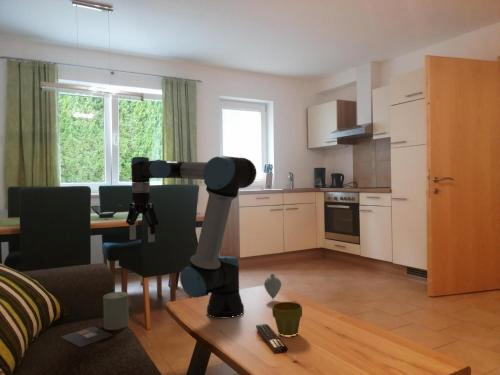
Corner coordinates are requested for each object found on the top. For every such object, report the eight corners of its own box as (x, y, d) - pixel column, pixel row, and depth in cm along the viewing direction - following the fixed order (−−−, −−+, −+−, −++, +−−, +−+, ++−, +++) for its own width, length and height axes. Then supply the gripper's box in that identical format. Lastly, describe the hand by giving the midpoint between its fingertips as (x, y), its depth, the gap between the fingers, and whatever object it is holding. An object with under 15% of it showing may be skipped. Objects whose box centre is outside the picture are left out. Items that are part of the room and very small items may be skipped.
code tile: (113, 335, 132) (113, 334, 132) (80, 347, 123) (80, 346, 123) (93, 326, 141) (93, 326, 141) (60, 337, 132) (60, 336, 132)
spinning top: (276, 304, 163) (276, 276, 163) (261, 301, 167) (260, 274, 167) (284, 299, 170) (283, 272, 170) (269, 297, 174) (269, 271, 174)
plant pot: (267, 331, 133) (266, 304, 133) (291, 326, 137) (291, 299, 137) (283, 342, 123) (282, 312, 123) (308, 336, 128) (308, 307, 128)
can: (121, 330, 136) (120, 297, 136) (98, 329, 138) (97, 296, 138) (133, 321, 145) (133, 290, 145) (112, 320, 147) (111, 290, 147)
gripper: (117, 192, 169) (118, 239, 169) (151, 192, 153) (152, 244, 154) (131, 192, 175) (132, 237, 175) (166, 191, 159) (167, 241, 159)
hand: (142, 240), depth 164 cm, fingers open, 13 cm apart
